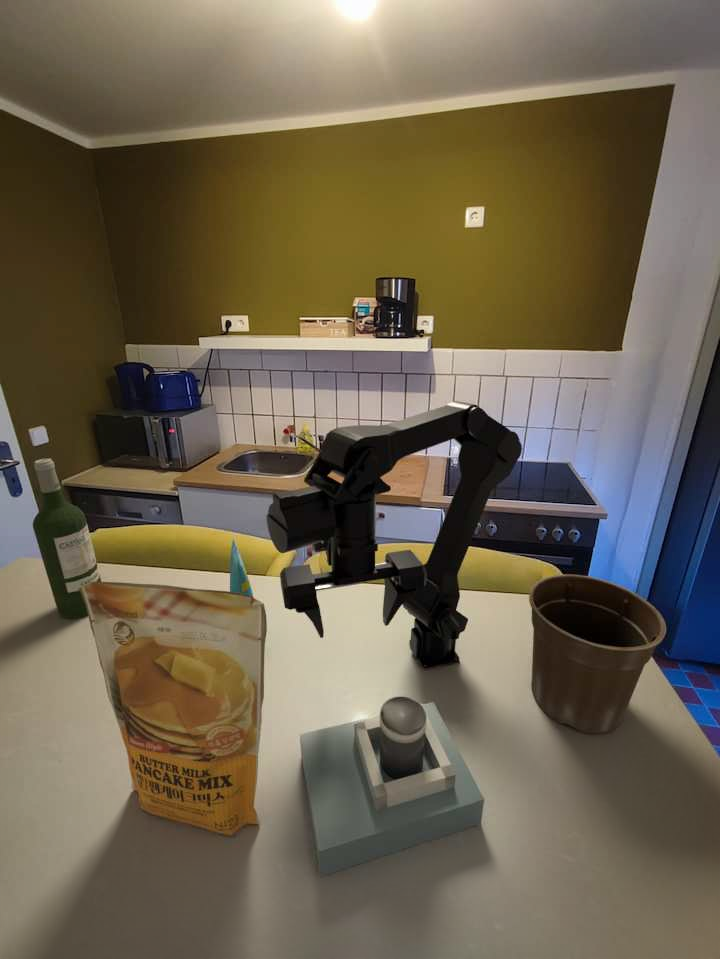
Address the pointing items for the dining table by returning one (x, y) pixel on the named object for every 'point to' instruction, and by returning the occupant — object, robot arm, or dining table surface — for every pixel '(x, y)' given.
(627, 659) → the plant pot
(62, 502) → the wine bottle
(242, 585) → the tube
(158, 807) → the pancake mix bag
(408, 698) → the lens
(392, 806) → the teal base with frame
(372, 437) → the robot arm
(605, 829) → the dining table surface
